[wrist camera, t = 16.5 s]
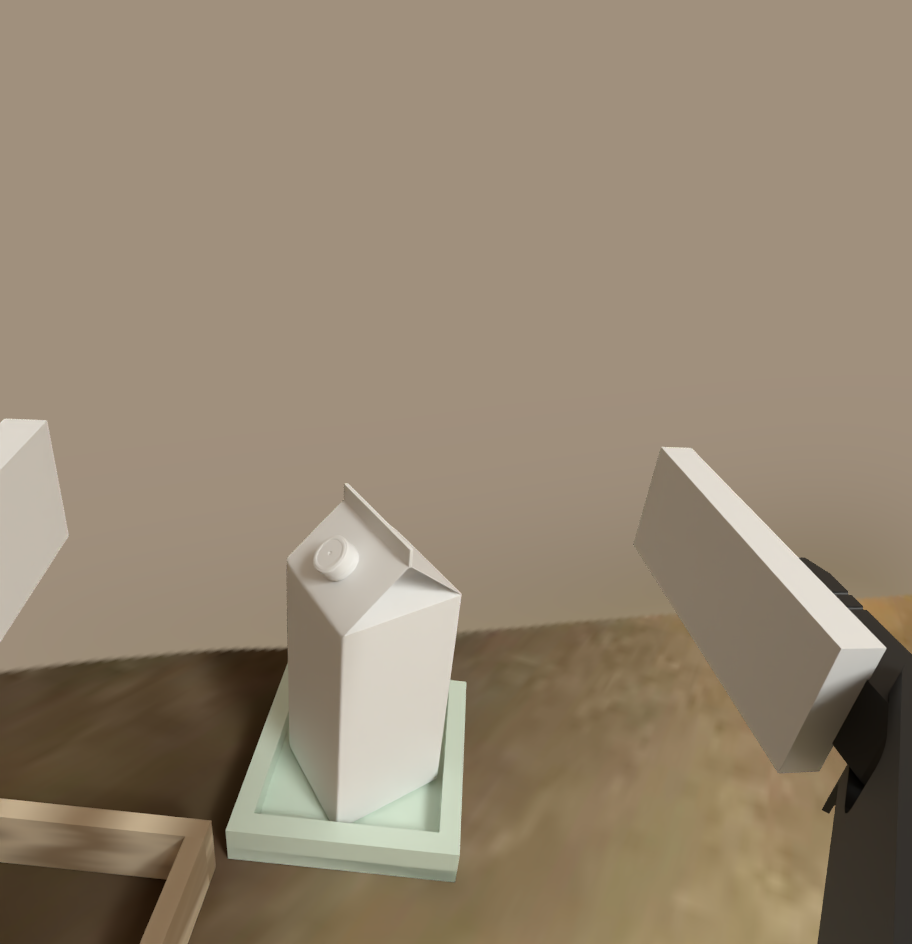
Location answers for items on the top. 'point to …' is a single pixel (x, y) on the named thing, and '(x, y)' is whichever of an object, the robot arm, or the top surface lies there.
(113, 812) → the holder
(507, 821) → the top surface
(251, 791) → the tray
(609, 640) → the top surface
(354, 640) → the milk carton
